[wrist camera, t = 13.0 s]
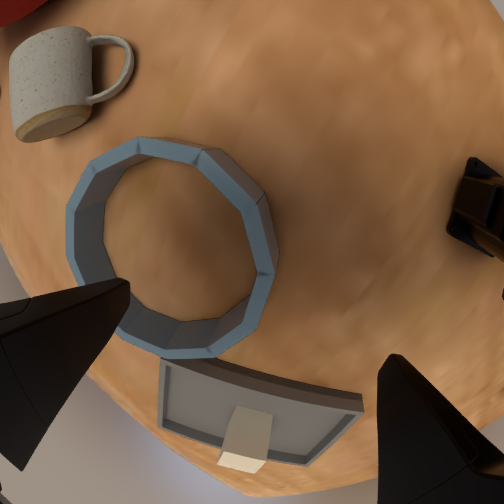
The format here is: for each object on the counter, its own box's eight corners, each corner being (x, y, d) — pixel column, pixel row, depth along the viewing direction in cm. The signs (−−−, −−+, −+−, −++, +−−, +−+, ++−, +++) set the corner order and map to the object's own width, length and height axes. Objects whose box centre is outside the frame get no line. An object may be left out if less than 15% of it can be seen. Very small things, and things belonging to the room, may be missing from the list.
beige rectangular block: (273, 414, 25) (266, 461, 20) (262, 431, 27) (254, 473, 21) (236, 404, 25) (224, 451, 20) (228, 422, 27) (216, 464, 21)
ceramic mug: (57, 144, 19) (-5, 152, 12) (52, 72, 17) (-5, 66, 10) (145, 101, 17) (80, 86, 10) (136, 21, 15) (82, -11, 8)
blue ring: (304, 172, 18) (307, 177, 14) (244, 351, 24) (235, 383, 20) (106, 128, 18) (74, 128, 15) (95, 293, 24) (71, 313, 21)
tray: (361, 394, 24) (364, 412, 21) (308, 452, 29) (307, 466, 27) (170, 341, 25) (160, 358, 22) (164, 413, 30) (157, 426, 28)
